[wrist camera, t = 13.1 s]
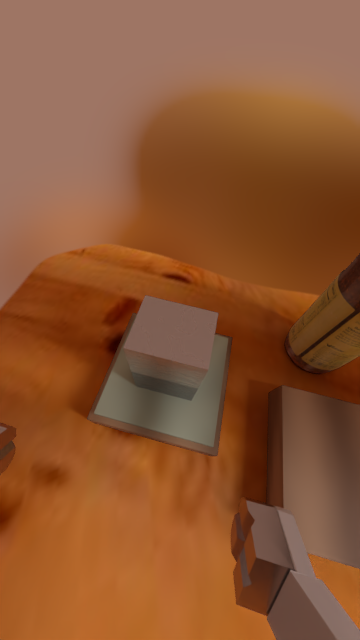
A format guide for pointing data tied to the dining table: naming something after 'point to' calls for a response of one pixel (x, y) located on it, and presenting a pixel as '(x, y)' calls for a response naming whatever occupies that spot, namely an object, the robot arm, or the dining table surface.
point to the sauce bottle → (329, 326)
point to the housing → (170, 347)
